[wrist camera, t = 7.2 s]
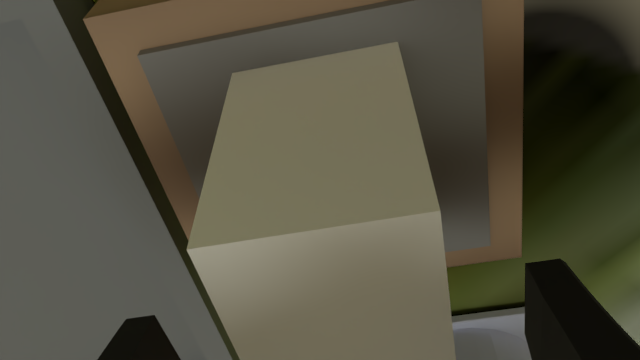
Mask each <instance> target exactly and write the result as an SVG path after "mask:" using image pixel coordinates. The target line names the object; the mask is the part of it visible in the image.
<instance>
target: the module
mask: <svg viewBox="0 0 640 360" xmlns="http://www.w3.org/2000/svg"><path fill="white" fill-rule="evenodd" d="M186 250H187V252H188V254H189V256H190V258H191V260H192V262H193V264H194V266H195V268H196V270H197V272H198V274H199V277H200V279H201V281H202V283H203V285H204V287H205V289H206V291H207V293H208V295H209V297H210V299H211V301H212V303H213V305H214V307H215V309H216V311H217V314H218V316H219V318H220V320H221V322H222V324H223V326H224V328H225V330H226V332H227V334H228V336H229V338H230V340H231V342H232V344H233V346H234V348H235V350H236V353H237V355H238V357H239V359H240V360H456V354H455V345H454V335H453V326H452V316H451V307H450V297H449V288H448V278H447V269H446V259H445V250H444V240H443V231H442V221H441V212H440V207H439V203H438V199H437V195H436V191H435V187H434V183H433V179H432V175H431V171H430V167H429V163H428V159H427V156H426V152H425V148H424V144H423V140H422V136H421V132H420V128H419V124H418V120H417V116H416V112H415V108H414V104H413V100H412V96H411V92H410V88H409V84H408V80H407V76H406V72H405V68H404V64H403V60H402V56H401V52H400V48H399V44H398V42H393V43H387V44H382V45H377V46H372V47H366V48H361V49H356V50H351V51H345V52H340V53H335V54H330V55H325V56H319V57H314V58H309V59H304V60H298V61H293V62H288V63H283V64H277V65H272V66H267V67H262V68H257V69H251V70H246V71H241V72H236V73H232V76H231V79H230V83H229V87H228V91H227V95H226V99H225V103H224V106H223V110H222V114H221V118H220V122H219V126H218V130H217V133H216V137H215V141H214V145H213V149H212V153H211V157H210V161H209V164H208V168H207V172H206V176H205V180H204V184H203V188H202V191H201V195H200V199H199V203H198V207H197V211H196V215H195V218H194V222H193V226H192V230H191V234H190V238H189V242H188V245H187V249H186Z"/></svg>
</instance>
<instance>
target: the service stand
mask: <svg viewBox="0 0 640 360" xmlns="http://www.w3.org/2000/svg"><path fill="white" fill-rule="evenodd" d="M83 21H84V23H85V25H86V27H87V29H88V31H89V33H90V35H91V37H92V40H93V42H94V44H95V46H96V48H97V50H98V52H99V54H100V56H101V58H102V60H103V63H104V65H105V67H106V69H107V71H108V73H109V75H110V77H111V79H112V81H113V84H114V86H115V88H116V90H117V92H118V94H119V96H120V98H121V100H122V102H123V105H124V107H125V109H126V111H127V113H128V115H129V117H130V119H131V121H132V123H133V125H134V128H135V130H136V132H137V134H138V136H139V138H140V140H141V142H142V144H143V146H144V149H145V151H146V153H147V155H148V157H149V159H150V161H151V163H152V165H153V167H154V169H155V172H156V174H157V176H158V178H159V180H160V182H161V184H162V186H163V188H164V190H165V193H166V195H167V197H168V199H169V201H170V203H171V205H172V207H173V209H174V211H175V213H176V216H177V218H178V220H179V222H180V224H181V226H182V228H183V230H184V232H185V234H186V237H187V239H188V241H189V238H190V234H191V230H192V226H193V222H194V218H195V215H196V211H197V207H198V203H199V199H200V195H201V191H202V188H203V184H204V180H205V176H206V172H207V168H208V164H209V161H210V157H211V153H212V149H213V145H214V141H215V137H216V133H217V130H218V126H219V122H220V118H221V114H222V110H223V106H224V103H225V99H226V95H227V91H228V87H229V83H230V79H231V76H232V73H236V72H241V71H246V70H251V69H257V68H262V67H267V66H272V65H277V64H283V63H288V62H293V61H298V60H304V59H309V58H314V57H319V56H325V55H330V54H335V53H340V52H345V51H351V50H356V49H361V48H366V47H372V46H377V45H382V44H387V43H393V42H398V44H399V48H400V52H401V56H402V60H403V64H404V68H405V72H406V76H407V80H408V84H409V88H410V92H411V96H412V100H413V104H414V108H415V112H416V116H417V120H418V124H419V128H420V132H421V136H422V140H423V144H424V148H425V152H426V156H427V159H428V163H429V167H430V171H431V175H432V179H433V183H434V187H435V191H436V195H437V199H438V203H439V207H440V212H441V221H442V231H443V240H444V250H445V259H446V268H447V267H454V266H461V265H468V264H475V263H482V262H489V261H496V260H503V259H510V258H518V257H522V161H523V50H524V0H98V1H97V3H96V4H95V5H94V6H93V7H92V9H91V10H90V11H89V12H88V13H87V15H86V16H85V17H84V18H83Z"/></svg>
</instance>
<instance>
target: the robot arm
mask: <svg viewBox="0 0 640 360" xmlns="http://www.w3.org/2000/svg"><path fill="white" fill-rule="evenodd" d="M452 326H453V335H454V345H455V354H456V360H640V346H639V345H638V344H637V343H636V342H635V341H634V340H633V339H632V338H631V337H630V336H629V335H628V334H627V333H626V332H625V331H624V330H623V329H622V328H621V326H620V325H619V324H618V323H617V322H616V321H615V320H614V319H613V318H612V317H611V316H610V314H609V313H608V312H607V311H606V310H605V309H604V308H603V307H602V305H601V304H600V303H599V302H598V301H597V300H596V299H595V298H594V296H593V295H592V294H591V293H590V292H589V291H588V289H587V288H586V287H585V286H584V285H583V283H582V282H581V281H580V280H579V279H578V277H577V276H576V275H575V274H574V272H573V271H572V270H571V269H570V267H569V266H568V265H567V264H566V262H564V261H563V260H561V259H554V260H547V261H540V262H532V263H525V307H520V308H512V309H504V310H497V311H489V312H481V313H474V314H466V315H458V316H452ZM97 360H181V359H180V357H179V356H178V354H177V352H176V351H175V349H174V347H173V345H172V344H171V342H170V340H169V339H168V337H167V335H166V334H165V332H164V330H163V328H162V327H161V325H160V323H159V322H158V320H157V318H156V316H155V315H150V316H143V317H136V318H129V319H126V320H125V321H124V322H123V324H122V325H121V327H120V328H119V329H118V331H117V332H116V334H115V335H114V336H113V338H112V339H111V341H110V342H109V343H108V345H107V346H106V348H105V349H104V351H103V352H102V353H101V355H100V356H99V358H98V359H97Z"/></svg>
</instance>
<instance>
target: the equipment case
mask: <svg viewBox="0 0 640 360" xmlns="http://www.w3.org/2000/svg"><path fill="white" fill-rule="evenodd" d="M93 6H94V3H93V1H92V0H0V360H97V359H98V358H99V356H100V355H101V353H102V352H103V351H104V349H105V348H106V346H107V345H108V343H109V342H110V341H111V339H112V338H113V336H114V335H115V334H116V332H117V331H118V329H119V328H120V327H121V325H122V324H123V322H124V321H125V320H126V319H129V318H136V317H143V316H150V315H155V316H156V318H157V320H158V322H159V323H160V325H161V327H162V328H163V330H164V332H165V334H166V335H167V337H168V339H169V340H170V342H171V344H172V345H173V347H174V349H175V351H176V352H177V354H178V356H179V357H180V359H181V360H240V359H239V357H238V355H237V353H236V350H235V348H234V346H233V344H232V342H231V340H230V338H229V336H228V334H227V332H226V330H225V328H224V326H223V324H222V322H221V320H220V318H219V316H218V314H217V311H216V309H215V307H214V305H213V303H212V301H211V299H210V297H209V295H208V293H207V291H206V289H205V287H204V285H203V283H202V281H201V279H200V277H199V274H198V272H197V270H196V268H195V266H194V264H193V262H192V260H191V258H190V256H189V254H188V252H187V250H186V249H187V245H188V242H189V241H188V239H187V237H186V234H185V232H184V230H183V228H182V226H181V224H180V222H179V220H178V218H177V216H176V213H175V211H174V209H173V207H172V205H171V203H170V201H169V199H168V197H167V195H166V193H165V190H164V188H163V186H162V184H161V182H160V180H159V178H158V176H157V174H156V172H155V169H154V167H153V165H152V163H151V161H150V159H149V157H148V155H147V153H146V151H145V149H144V146H143V144H142V142H141V140H140V138H139V136H138V134H137V132H136V130H135V128H134V125H133V123H132V121H131V119H130V117H129V115H128V113H127V111H126V109H125V107H124V105H123V102H122V100H121V98H120V96H119V94H118V92H117V90H116V88H115V86H114V84H113V81H112V79H111V77H110V75H109V73H108V71H107V69H106V67H105V65H104V63H103V60H102V58H101V56H100V54H99V52H98V50H97V48H96V46H95V44H94V42H93V40H92V37H91V35H90V33H89V31H88V29H87V27H86V25H85V23H84V21H83V18H84V17H85V16H86V15H87V13H88V12H89V11H90V10H91V9H92V7H93Z"/></svg>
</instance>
